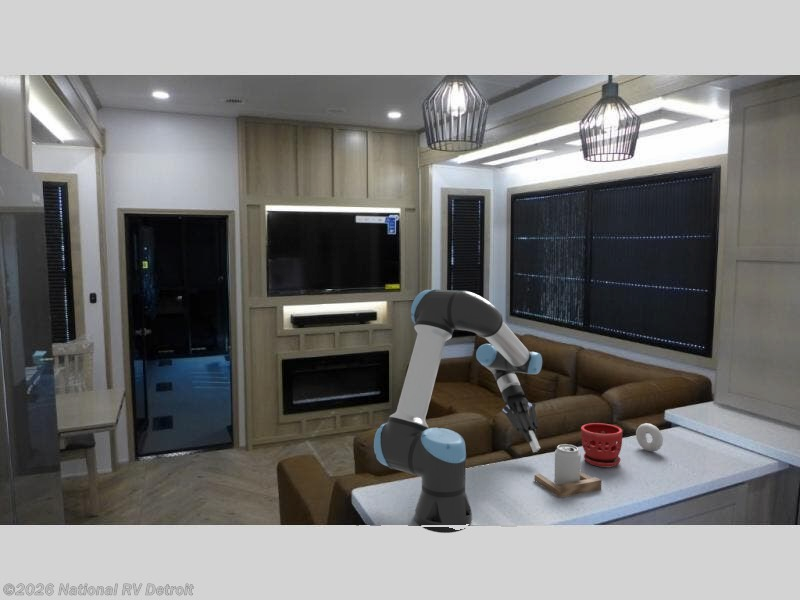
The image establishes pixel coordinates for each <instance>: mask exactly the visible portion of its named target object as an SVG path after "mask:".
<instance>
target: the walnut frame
mask: <svg viewBox="0 0 800 600" xmlns="http://www.w3.org/2000/svg"><path fill="white" fill-rule="evenodd" d="M533 478H534V479H533V480H535V481H534V482H536V481H537V482H538V483H539V485H540V486H541V485H542V487H543V488H544V487H545V488H544V489H545V490H547V491H549V492H550V493H551V494H553V495H554V496H556V497H557V498H559V499H561V498H566V497H571V496H576V495H580V494H586V493H591V492H596V491H601V490H602V480H601V479H600V478H598V477H591V476H590V475H588V474H587V473H584V472H583V471H581V470H580V481H575V482H570V483H564V484H559V485H557V484H556V483H555V482H553V481H552V480H551V479H549V478H548V477H546V476H545V475H543V474H542V473H536V474H534V475H533ZM537 482H536V483H537ZM538 483H537V484H538Z"/></svg>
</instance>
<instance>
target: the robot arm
mask: <svg viewBox="0 0 800 600" xmlns="http://www.w3.org/2000/svg"><path fill="white" fill-rule="evenodd" d="M410 314H411V316H410V317H411V321H412V322H413V324H414V327H413V328H414V330H415V332H416V333H417V334H416V339H415V343H414V346H413V349H412V354H411V357H410V360H409V363H408V364H409V365H408V367H407V370H406V376H405V378H404V383H403V385H402V389H401V394H400V396H399V401H398V404H397V407H396V408H397V409H396V411H395V412H394V413H392V414H391V415H389V417H388V420H387V422H384V423H382V424H381V425H380V426H379V428H377V430H376V432H375V435H374V439H373V449H374V455H375V456H376V457H375V458H376V460H377V462H379V463H380V464H381V465H383V466H385V467H388V468H389V469H392V470H397V471H401V472H404V473H407V474H411V475H414V476H418V477H420V478H421V492H420V494H419V497H418V501H417V504H416V506H415V522H416V523H417V525H419V526H420V525H466V524H470V523H471V524H472V522H471V521H472V520H473V518H472V517H473V514H472V513H473V512H472V508H471V506H470V505H471V504H470V502H469V498H468V496H467V493H466V470H467V468H466V464H467V463H466V461H467V460H466V459H467V452H466V443H465V440H464V438H463V436H462V435H461V434H460V433H458V432H456V431H454V430H452V429H448V428H443V427H441V428H438V427H430V428H429V425H428V424H427V422H426V416H427V413H428V410H429V405H430V402H431V399H432V396H433V395H432V394H433V391H434V387H435V383H436V378H437V374H438V371H439V367H440V364H441V359H442V356H443V351H444V348H445V344H446V342H447V341H448V340H450V339H452V337H453V333H454V330H456V331H457V330H458V331H467V332H471V333H474V334H476V335H477V336H478V337H479V338H480V337H481V338H483V339H485V340H487V342H489V343H484V344H482V345H479V347H478V348H477V350H476V353H475V354H476V355H475V358H476V360H477V361H478V363H480V365H481V366H483V367H485V368H486V369H487V370H488V371H490V372H491V373H492V374H493V377H494V379H495V382H496V383H497V384H496V385H497V386H498V388H499V391H500V393H501V396H502V399H503V401H504V403H505V406H503V408H502V409H501V413H503V414H504V415H505V416H506V417H507V419H508V420H509V422H510V423H511V425H512V426H513V428H514V430H515V431H516V433H518V434H521V435H522V436H524V438H525V440H526V442H527V443H529V445H530V448H531V450H532V453H537V452H538V451H539V450H540V449H541V446H540V444H539V441H538V440H539V437H538V434H537V432H536V431H537V429H539V422H538V417H537V413H536V412H537V411H536V403H535V402H532V403H531V402H529V400H528V399H527V398H526V395H525V392H524V390H523V388H522V386H521V383H520V381H519V378H518V376H517V375H516V373H522V374H527V375H537V374H539V373H540V372H541V370H542V368H543V367H542V366H543V357H542V354H541V353H539V352H535V351H530V350H528V348H527V347H526V346H525V344H523V343H522V342H521V340H520V339H519V338H518V337H517V335H516V334H515V333H514V332H513V331H512V330H511V328H510V327H509V326H508V325H507V324H506V322H504V317H503V314H502V313H501V311H500V310H499V309H498V308H497V307H496V306H495V305H493V304H492V303H491V302H490V301H489V300H487V299H486V298H484V297H483V296H481V295H479V294H477V293H474V292H473V291H472V292H471V291H468V290H448V289H447V290H446V289H437V288H433V289H424V290H423V291H421V292H419V293H418V294H417V295H416V296H415V298H414V300H413V302H412V303H411V308H410ZM471 524H470V525H471ZM422 529H425V530H427V531H431V532H434V533H441V534H446V533H447V534H448V533H449V534H451V533H456V532H460V531H464V530H465V529H466V528H464V529H460V530H455V529H453V528H449V527H422Z"/></svg>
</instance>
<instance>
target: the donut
mask: <svg viewBox="0 0 800 600" xmlns="http://www.w3.org/2000/svg"><path fill="white" fill-rule="evenodd" d="M647 434H649V435H650V436H651V438H652V439H651V441H649V440H648V438H647ZM635 436H636V437H635V438H636V441H637V443H638V444H639V446H640V447H641V448H642V449H643V450H645V451H647V452H653V453H654V452H658V450H660V449H661V448H662V446H663V443H664V437H663V434H662V432H661V431H660V429H659V428H658V427H657V426H656V425H653V424H652V423H647V422H645V423H642V424H640V425H639V426H638V427H637V429H636V431H635Z"/></svg>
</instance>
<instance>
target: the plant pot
mask: <svg viewBox="0 0 800 600" xmlns="http://www.w3.org/2000/svg"><path fill="white" fill-rule="evenodd" d="M602 432H604V433H602ZM580 438H581V444H582V449H583V451H584V454H583V459H584V460H585V461H586V462H587V463H589V464H590V465H591V466H595V467H599V468H600V467H601V468H611V467H616V466H617V465H619V464H620V462H621V460H622V459H621V457H620V456H619V455H620V453H621V450H622V445H623V429H621V428H620V427H619V426H617V425H614V424H608V423H600V422H597V423H596V422H595V423H593V422H591V423H586V424H583V425H582V426H581V427H580Z"/></svg>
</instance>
